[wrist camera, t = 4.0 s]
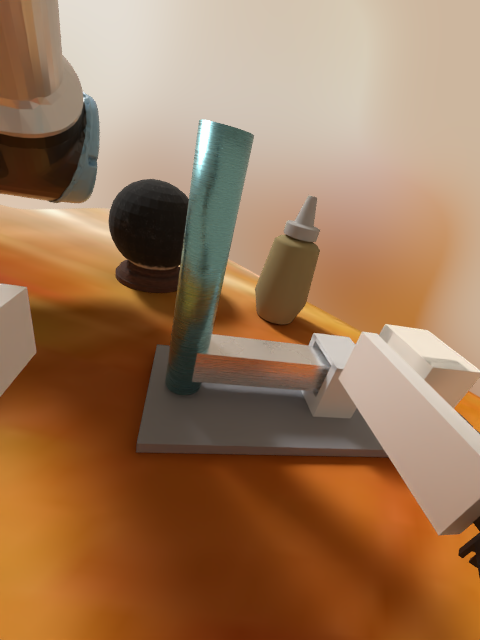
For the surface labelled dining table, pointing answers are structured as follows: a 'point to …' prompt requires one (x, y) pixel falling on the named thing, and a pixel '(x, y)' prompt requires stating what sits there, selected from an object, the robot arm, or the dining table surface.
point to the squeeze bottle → (289, 269)
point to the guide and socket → (290, 405)
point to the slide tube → (207, 278)
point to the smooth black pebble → (149, 234)
